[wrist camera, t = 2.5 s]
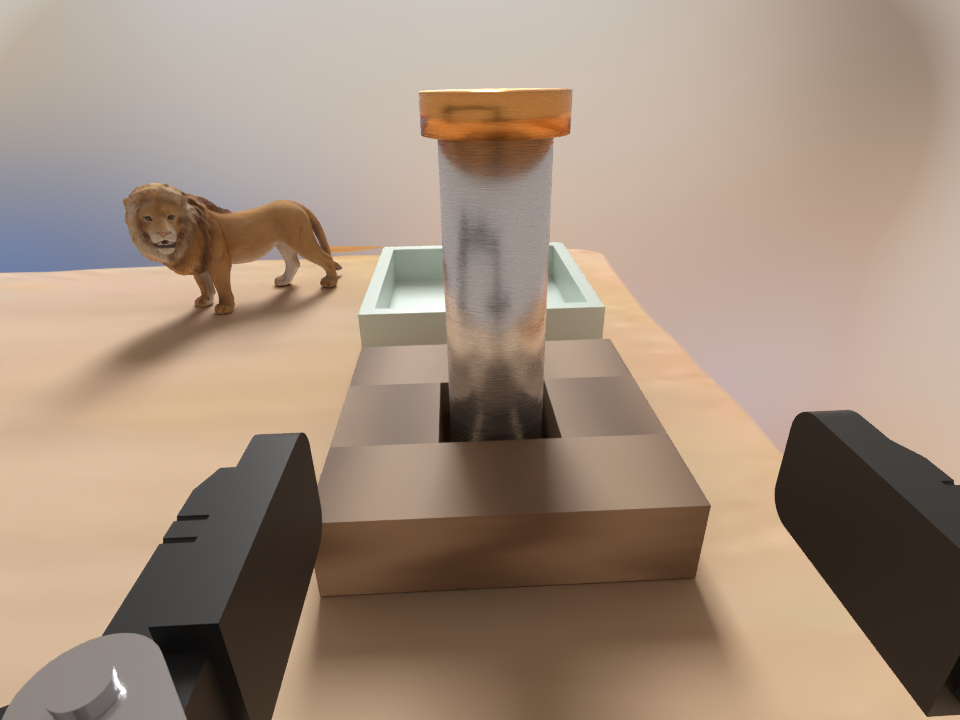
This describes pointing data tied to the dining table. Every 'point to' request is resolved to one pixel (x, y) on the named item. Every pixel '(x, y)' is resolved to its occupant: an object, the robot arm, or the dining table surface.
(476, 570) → the block
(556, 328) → the tray
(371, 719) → the dining table surface
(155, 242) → the lion figurine
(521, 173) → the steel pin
